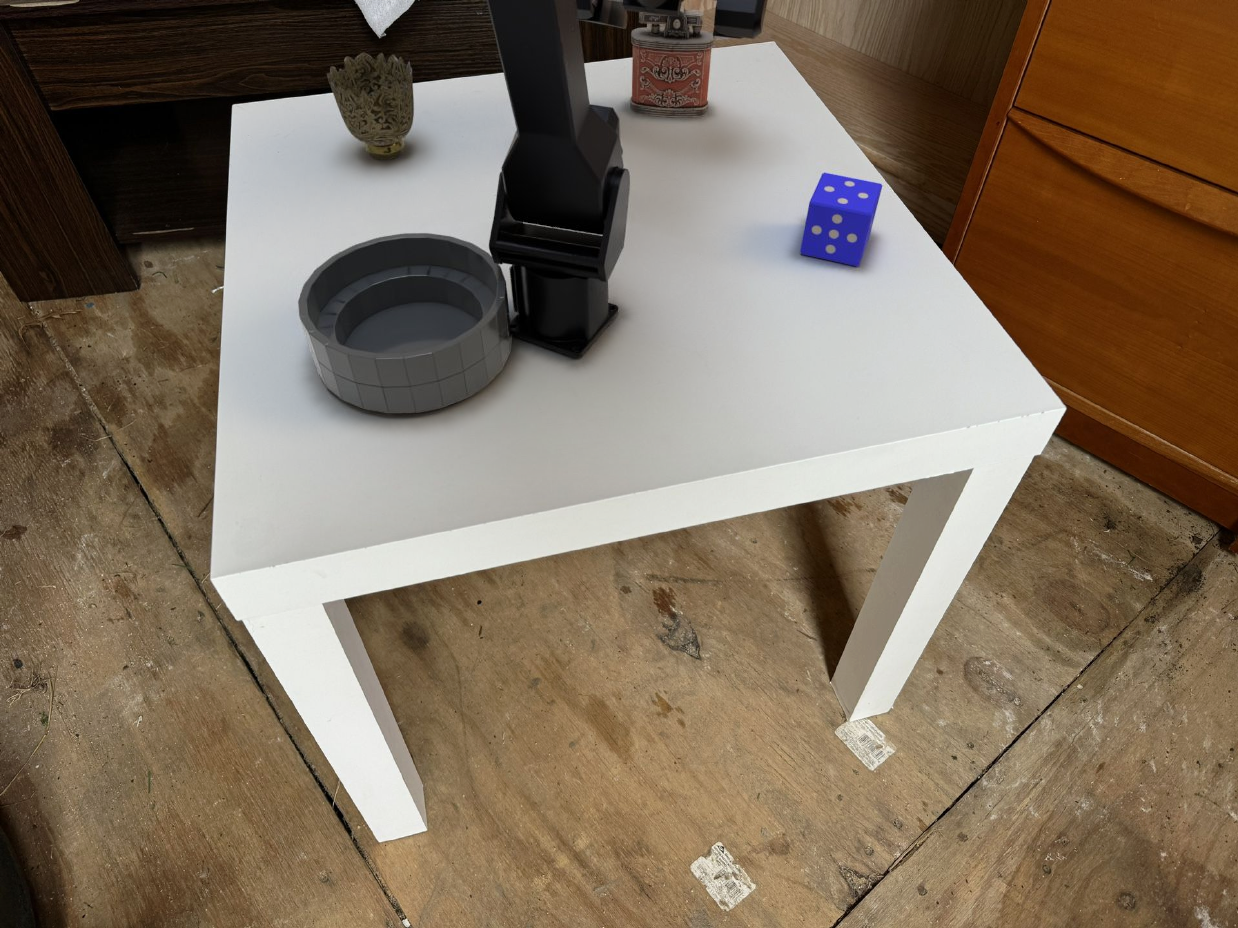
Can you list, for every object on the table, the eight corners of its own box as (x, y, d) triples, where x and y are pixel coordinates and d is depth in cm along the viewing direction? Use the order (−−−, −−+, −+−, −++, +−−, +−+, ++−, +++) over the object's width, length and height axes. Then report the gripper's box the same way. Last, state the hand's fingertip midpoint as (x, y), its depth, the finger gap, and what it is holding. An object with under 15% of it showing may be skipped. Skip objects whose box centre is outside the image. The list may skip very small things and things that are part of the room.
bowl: (547, 326, 68) (543, 266, 63) (437, 445, 59) (424, 385, 55) (398, 273, 72) (385, 214, 68) (276, 377, 64) (253, 317, 59)
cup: (390, 181, 81) (373, 96, 75) (330, 159, 84) (309, 76, 78) (440, 145, 86) (428, 63, 80) (382, 126, 88) (365, 45, 82)
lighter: (708, 103, 92) (717, 2, 84) (707, 119, 90) (716, 16, 82) (631, 99, 92) (633, -2, 85) (628, 115, 90) (630, 12, 83)
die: (858, 267, 73) (871, 214, 69) (799, 254, 74) (809, 202, 70) (869, 235, 76) (883, 183, 72) (812, 223, 77) (822, 171, 73)
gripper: (786, -156, 67) (785, -48, 82) (552, -175, 70) (593, -67, 85) (757, -7, 68) (761, 73, 83) (527, -32, 71) (572, 50, 86)
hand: (671, 28), depth 84 cm, fingers open, 9 cm apart
